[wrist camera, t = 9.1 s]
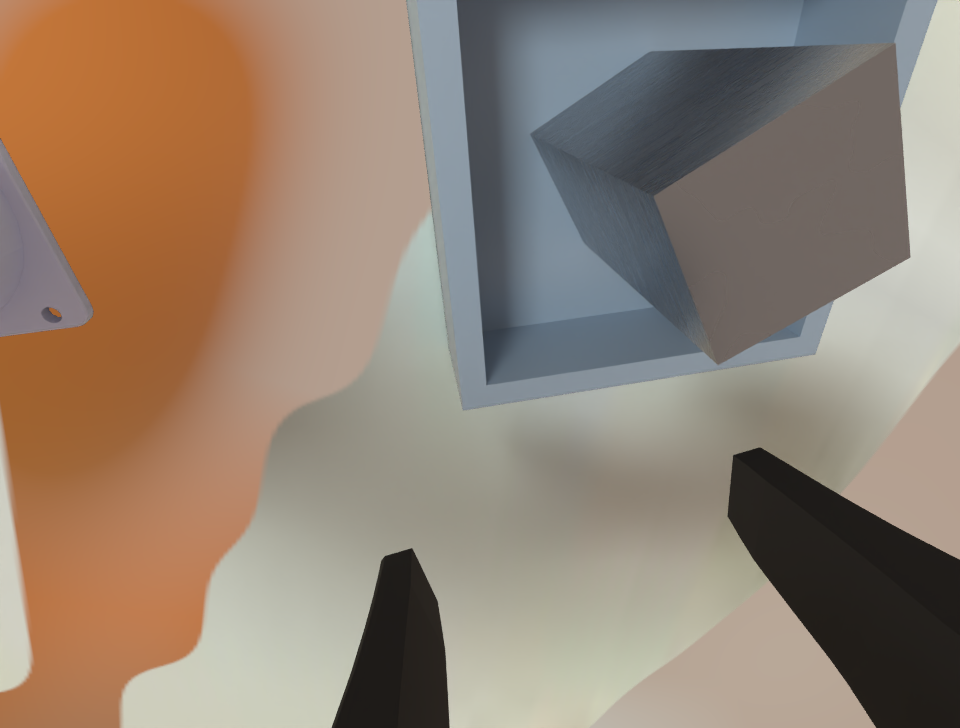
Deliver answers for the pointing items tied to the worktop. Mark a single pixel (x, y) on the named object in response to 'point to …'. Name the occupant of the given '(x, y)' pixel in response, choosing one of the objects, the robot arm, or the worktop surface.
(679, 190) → the strut
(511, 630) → the worktop surface
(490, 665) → the worktop surface
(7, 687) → the worktop surface
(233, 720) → the worktop surface
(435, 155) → the bin
